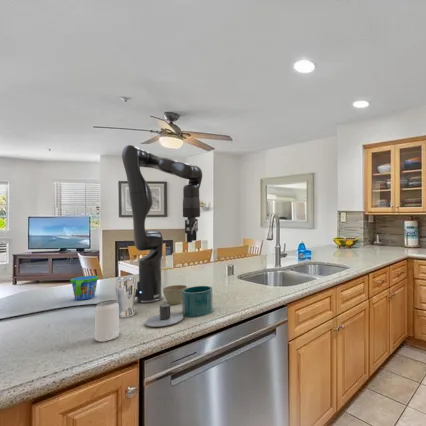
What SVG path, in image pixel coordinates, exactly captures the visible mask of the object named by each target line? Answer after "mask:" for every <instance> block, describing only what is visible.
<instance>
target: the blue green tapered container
mask: <svg viewBox="0 0 426 426" xmlns="http://www.w3.org/2000/svg"><path fill="white" fill-rule="evenodd" d="M99 277H100V276H98V275H82V276H77V277H73V278H71V279H70V281H69V282H70V283H71V285H72V287H71V288H72V291H73V292H72V293H73V296H74V300H76V301H84V300H89V299H93V298H95V295H96V291H97V285H98V280H99Z"/></svg>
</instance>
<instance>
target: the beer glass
mask: <svg viewBox="0 0 426 426" xmlns="http://www.w3.org/2000/svg"><path fill="white" fill-rule="evenodd" d="M136 289H137V282H136V276H123V277H119V278H117V279H116V280H115V296H116V300H117V302H118V305H119V319H121V318H123V319H125V318H129V317H132V316H134V315H135V314H136V310H135V300H136V297H135V294H136Z"/></svg>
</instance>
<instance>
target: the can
mask: <svg viewBox="0 0 426 426" xmlns="http://www.w3.org/2000/svg"><path fill="white" fill-rule="evenodd" d="M119 335H120V318H119V305H118V303H117V299H107V300H102V301H99V302H97V305H95V309H94V337H95V341H96V342H98V343H104V342H105V343H106V342H110V341H113V340H115V339H117V338H118V337H119Z"/></svg>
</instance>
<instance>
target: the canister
mask: <svg viewBox="0 0 426 426" xmlns="http://www.w3.org/2000/svg"><path fill="white" fill-rule="evenodd" d="M181 303H182V304H181V306H182V307H181V309H182V313H181V314H182V315H183V317H186V318H196V317H203V316H207V315H208V314H211V313H212V312H213V306H214V305H213V287H212V286H209V285H195V286H189V287H187V288H186V289H184V290H182V302H181Z"/></svg>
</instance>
